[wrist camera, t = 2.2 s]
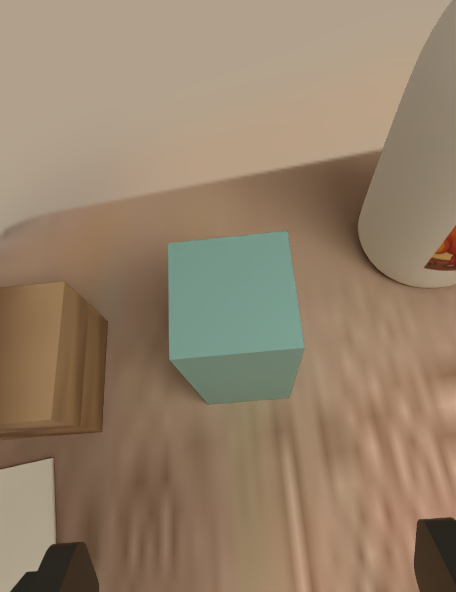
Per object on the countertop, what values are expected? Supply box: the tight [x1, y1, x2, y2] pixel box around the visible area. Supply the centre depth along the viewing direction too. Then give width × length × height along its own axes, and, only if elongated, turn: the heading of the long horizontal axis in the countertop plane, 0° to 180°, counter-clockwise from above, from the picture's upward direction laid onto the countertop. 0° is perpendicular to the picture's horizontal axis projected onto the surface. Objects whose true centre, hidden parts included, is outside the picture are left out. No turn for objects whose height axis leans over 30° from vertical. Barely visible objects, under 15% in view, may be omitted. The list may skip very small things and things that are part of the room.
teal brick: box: [168, 231, 304, 405], centre depth 19 cm, size 4×4×10 cm
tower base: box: [0, 281, 108, 440], centre depth 22 cm, size 6×6×6 cm
